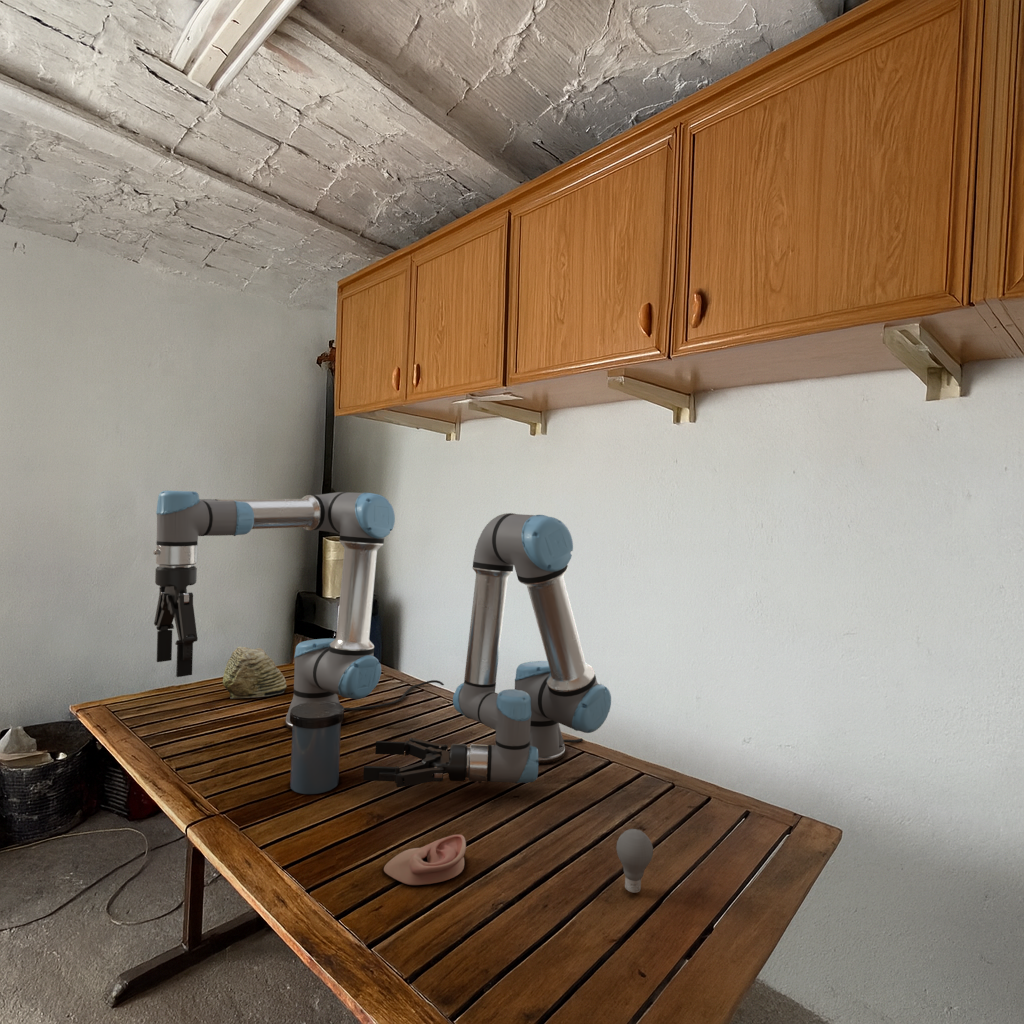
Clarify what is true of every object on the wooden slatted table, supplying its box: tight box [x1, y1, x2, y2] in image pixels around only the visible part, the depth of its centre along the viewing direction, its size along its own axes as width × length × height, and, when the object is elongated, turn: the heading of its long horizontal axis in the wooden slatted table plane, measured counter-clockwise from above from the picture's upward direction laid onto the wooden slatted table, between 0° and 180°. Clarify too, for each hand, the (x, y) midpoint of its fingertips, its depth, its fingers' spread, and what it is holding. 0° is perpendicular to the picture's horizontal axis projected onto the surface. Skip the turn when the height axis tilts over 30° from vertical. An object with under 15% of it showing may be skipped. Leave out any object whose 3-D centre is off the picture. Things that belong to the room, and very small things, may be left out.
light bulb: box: [615, 828, 654, 894], centre depth 106 cm, size 6×6×10 cm
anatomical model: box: [383, 834, 467, 886], centre depth 110 cm, size 13×4×12 cm
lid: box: [290, 701, 345, 728], centre depth 139 cm, size 11×11×2 cm
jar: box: [289, 722, 342, 795], centre depth 140 cm, size 10×10×16 cm
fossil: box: [222, 646, 288, 699], centre depth 198 cm, size 9×18×15 cm, turn 132°
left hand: (173, 668), depth 131 cm, fingers open, 13 cm apart
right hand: (369, 759), depth 138 cm, fingers open, 13 cm apart
